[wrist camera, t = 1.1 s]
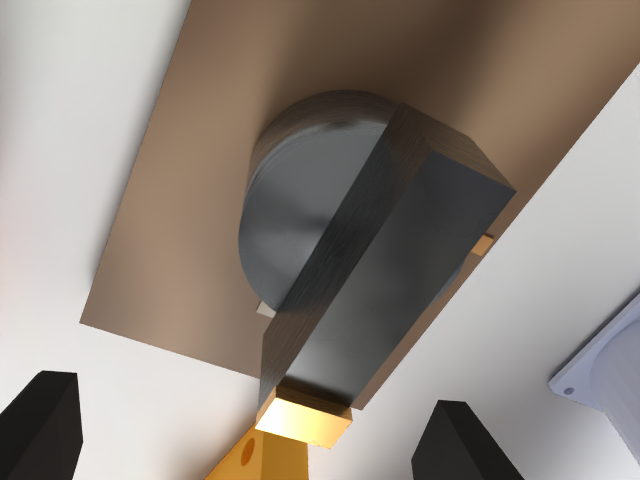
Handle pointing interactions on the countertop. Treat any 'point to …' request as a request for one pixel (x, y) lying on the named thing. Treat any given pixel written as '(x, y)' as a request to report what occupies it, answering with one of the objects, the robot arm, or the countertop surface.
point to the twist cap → (353, 245)
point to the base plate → (317, 77)
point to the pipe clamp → (263, 458)
